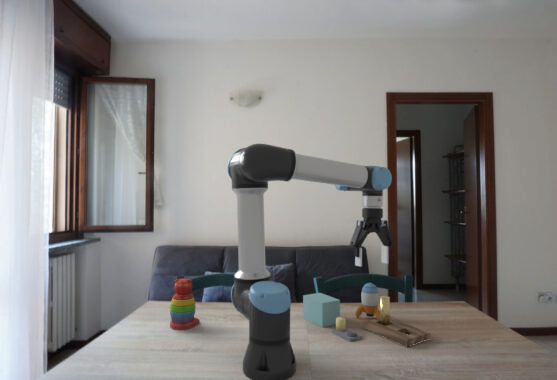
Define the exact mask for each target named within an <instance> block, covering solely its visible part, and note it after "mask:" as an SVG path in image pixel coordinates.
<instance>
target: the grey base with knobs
mask: <svg viewBox="0 0 557 380" xmlns="http://www.w3.org/2000/svg"><path fill="white" fill-rule="evenodd" d="M346 320H347V318H345V317H343V316H340V317H337V318H336V324H335V328H333V329H331V333H332V334H334V335H335V336H338V337H339V338H342V339H343V340H346V341H348V342H352V340H354V341H357V340H361V339H363V335H362V334H359V333H358V332H355V331H353V330H351V329H349V328H346V324H347V321H346ZM360 338H361V339H360ZM356 339H357V340H356Z"/></svg>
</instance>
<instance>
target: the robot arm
mask: <svg viewBox="0 0 557 380" xmlns="http://www.w3.org/2000/svg"><path fill="white" fill-rule="evenodd" d="M227 173H228V176H229V177H230V179H231V191H233V193H234V194H235V195H236V210H237V211H236V212H237V213H236V215H237V216H236V217H237V218H236V220H237V248H238V249H237V251H238V252H237V253H238V254H237V255H238V270H237V271H236V272H235V273H234V274H233V281H234V283H233V285H232V286H231V291H230V300H231V303H232V305H233V306H234V308H235V310H236V311H237V312H239V313H240V314H241V315H242V316H243V317H245V318H246V319H247V320H248V324H249V326H248V327H249V328H248V329H249V331H248V333H249V334H248V335H249V336H248V344H247V346H246V350H245V352H244V355H243V360H242V372H243V374H244V375H245V376H246V377H247V378H250V379H251V380H287V379H288V378H291V377H292V376H293V375H294V374H295V373H296V372H297V359H296V355H295V352H294V350H293V347H292V343H291V306H292V305H291V304H292V300H291V291H290V290H289V288H288V286H286V285H285V284H284V283H281V282H276V281H272V280H271V272H270V271H269V270H268V269H267V268H266V243H265V242H266V237H265V235H266V234H265V232H266V231H265V204H264V203H265V202H264V200H265V199H264V198H265V197H264V196H265V195H264V194H265V193H266V192H267V191H268V190H269V182H273V181H275V182H276V181H278V182H279V181H281V182H290V181H291V180H299V181H305V182H310V183H311V182H312V183H313V182H314V183H320V184H326V185H334V188H335V189H336V190H337V191H341V192H361V193H362V194H361V196H362V201H361V202H362V203H361V206H362V207H363V208H362V209H361V216H362V217H361V218H363V220H356V224H355V229H354V231H353V233H352V236H351V239H350V242H349V247H352V248H353V249H354V250H353V256H354V257H355V258H354V266H356V267H360V268H361V267H363V248H362V245H363V244H364V242H365V241H366V239H367V237H368V235H370V233H371V234H373V233H375V234H376V236H377V237H378V238H379V240H380V242H381V243H382V245H381V254H380V255H381V257H380V258H381V261H380V262H381V264H386V265H388V264H389V255H390V247H392V245H393V244H394V240H393V237H392V234H391V231H390V228H389V226H388V225H389V224H388V222H389V221H388V220H386V219H385V220H384V219H383V218H384V209H383V206H384V201H383V200H384V190H387V189H388V188H389V187H390V186H391V184H392V178H393V176H392V173H391V171H390V169H389V168H387V167H385V166H379V165H362V164H361V165H360V164H356V163H351V162H350V163H349V162H346V161H345V162H343V161H339V160H333V159H329V158H327V159H326V158H321V157H316V156H312V155H311V156H310V155H305V154H301V153H296V151H295V150H294V149H293V148H286V147H281V146H277V145H272V144H266V143H254V144H251V145H248V146H246V147H242V148H240V149H238V150H236V151H234V153H233V154H232V155H231V156H230V157H229V159H228V162H227Z"/></svg>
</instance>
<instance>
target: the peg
mask: <svg viewBox="0 0 557 380" xmlns="http://www.w3.org/2000/svg"><path fill="white" fill-rule="evenodd" d="M390 299H391V297H390V296H387V295H379V311H380V324H381V325H384V326H387V325H390V318H391V317H390V313H391V311H390V308H391V306H390V304H391V303H390Z"/></svg>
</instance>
